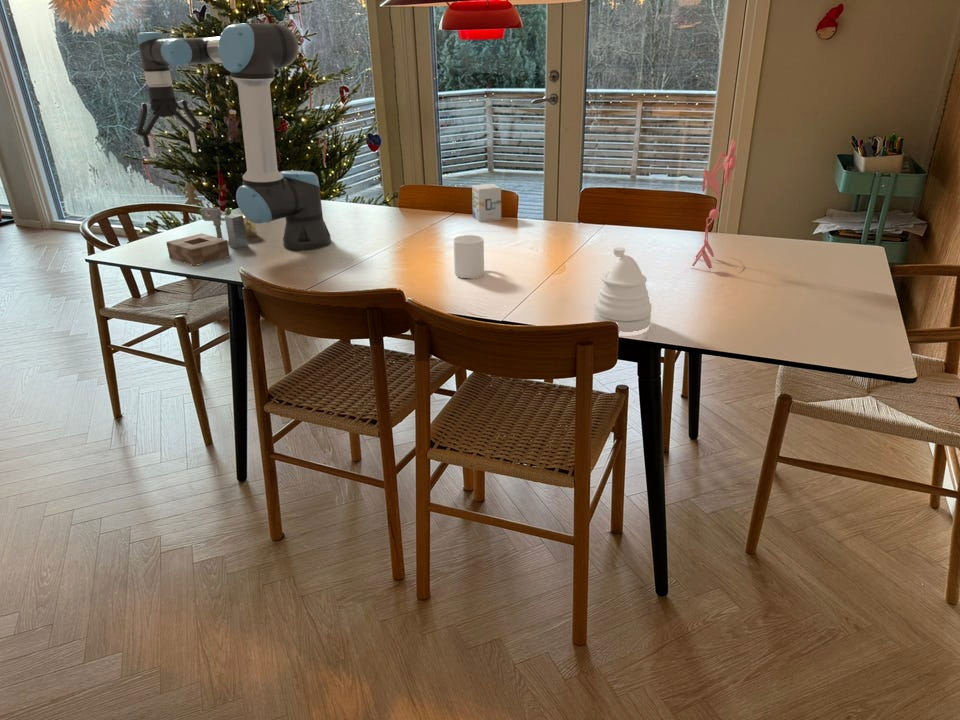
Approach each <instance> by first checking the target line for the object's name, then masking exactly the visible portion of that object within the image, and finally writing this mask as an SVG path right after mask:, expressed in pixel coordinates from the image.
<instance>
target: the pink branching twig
mask: <svg viewBox="0 0 960 720" xmlns="http://www.w3.org/2000/svg"><path fill="white" fill-rule="evenodd" d="M736 149H737V140H735V138H733V139H732V140H731V142H730V145H729V150H728V155H726V154H725V153H724V151H721V152H720V155H719V157H718V159H717V162H716V163H715V166H714V168H713V170H712V172H711V171H709V170H708V169H706V168H704V169H703V179H702V189H701V190H702V192H703V193H704V192H705V190H706V189H707V186H708V187H709V188H710V190H713V192H714V193H716V194H717V195H718V197H717V203H716V207H715V208H712V209H711V210H710V211H709V213H708V215H709V217H707V218H706V221H705V222H706V227H705V230H704V231H705V234H704V240H703V245H702V247H701V248H700V250H699V251H698V253H697V254H696V255H695V257H697V258H696V259H695V260H694V262H693V263H692V265H691V266H694V267H695V265H696V264H697V262H698V261H699V260H700V259H701V257H702V258H703V261H704V262H705V264H706V266H707V267H708V269H709V270H710V268H712V269H713V265H712V261H711V259H710V257H714V258H715V254H714V251H713V248H712V247H711V245H710V243H709V230H708V229H709V226H710V225H711V223H712V222H713V221H714V220H716V219H718V218H719V217H720V211H719V210H718V209H719V205H720V201H721V197H722V192H721V190H720V185H719V184H720V183H719V182H718V179H717V178H716V175H717V174H718V173H719V172H720V170H721V169H722V168H723V170H724V175H723V185H724V186H725V187H726V188H728V186H729V184H730V179H731V174H732V172H733V171H734V170H735V168H736V165H737V160H738V157H737V156H736V155H735V154H736ZM721 159H723V160H724V161H723V163H721V165H720V166H719V163H720V161H721ZM718 166H719V167H718ZM710 219H711V220H710ZM709 220H710V222H709ZM706 250H707V251H706ZM708 253H709V255H710V257H709V255H708Z"/></svg>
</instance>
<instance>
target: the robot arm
mask: <svg viewBox="0 0 960 720" xmlns="http://www.w3.org/2000/svg"><path fill="white" fill-rule="evenodd" d="M136 38H137V46H138V50H139V54H140V60H141V64H142V68H143V72H144V77H145V82H146V85H147V86H148V87H147V92H148V96H149V97H148V98H149V101H150V103H144V102H143V103H140V113H139V117H138V121H137V124H136V128H135V129H136V130H135V134H136V135H138V136H141V137H142V139H143V144H144V147H146V148H148V152H149V157H151V158H156V154H155V149H154V144H153V140H152V139H153V138H152V136H150V133H151V131H152V129H153V128H154V127H155V124H156V123H157V120H158V119H159V118H167V117H173V116H174V117H175V118H176V119H178V121H180V122H181V123H182V124H183V125H184V126H185V127H186V128H187V129H188V137H189V143H190V147H191V152H192V153H194V154H195V153H198V149H197V148H198V147H197V143H196V142H198V134H197V132H198V130H201V129H202V125H201V124H200V123H199V121H198V120H197V118H196V117H195V115H194V114H193V113H192V111H191V110H190V108H189V107H188V103H187V100H183V99H181V100H179V101H177V100H176V96H175V95H176V94H175V89H174V87H173V85H172V84H173V80H172V75H171V71H170V70H171V69H170V66H172V67H173V66H174V67H182V66H189V65H190V66H191V65H207V64H208V65H209V64H210V65H211V64H222V66H223V68H224V69H225V70H227V71H228V72H229V73H230V78H231V79H232V80H233V81H234V82H235V83H236V84H237V91H238V100H239V110H240V118H241V127H242V128H241V129H242V136H243V144H244V145H243V146H244V154H245V163H246V171H245V173H244V174H243V175H242V185H240V186H239V187H238V188H237V190H236V192H235V193H236V194H235V198H236V199H235V200H236V203H237V206H238V209H239V210H240V212H241V214H244V216H245V217H246V218H247V219H248V220H249V221H251V222H253V223H256V225H257V224H258V225H259V224H264V223H270V222H272V221H273V222H274V221H277V220H280V219H284V218H285V226H284V230H283V231H284V232H283V237H282V242H283V243H282V244H283V247H284V248H285V249H287V250H292V251H293V250H295V251H310V250H311V251H312V250H316V249H320V248H325V247H328V246H329V245H331V243H332V239H331V237H332V236H331V233H330V232H329V229H328V226H327V225H326V222H325V219H324V216H323V215H324V214H323V207H322V206H323V205H322V199H321V198H322V197H321V185H320V182H319V177H318V175H317V174H316V173H314V172H312V171H307V170H306V171H303V170H283V171H279V170H278V161H277V150H276V139H275V128H274V127H275V126H274V119H273V118H274V117H273V107H272V96H271V95H272V94H271V86H270V85H271V83H272V82H273V81H274V80H275V70H279V69H283V68H284V69H285V68H287V67H289V66H290V65H292V64H293V63H294V61H296V59H297V57H298V54H299V43H298V40H297V38H296V35H295V34H294V33H293V32H292V31H291V30H290V29H289V28H288V27H287V26H285V25H282V24H281V23H274V22H273V23H243V22H242V23H235V24H230V25H228V26H226V27H224V29H223V31H222V32H221V33H220V36H210V37H189V38H188V37H185V38H184V37H180V38H177V37H176V38H172V37H171V38H164V35H163V33H162V32H161V31H149V32H148V31H147V32H144V31H143V32H138V33H137V35H136ZM178 107H179V108H181V109H182V110H183V112H184V113H185V115H186V117H187V118H188V119H189V120H190V122H189V121H188V119H186V118H185V117H184V116H183V115H182V114H181V113H180V112H179V111H178V110H177V108H178ZM150 109H151V110H152V111H153V112H152V114H151V116H150V119H149V120H148V122H147V123H145V122H146V119H147V115H148V111H150ZM145 125H146V126H145Z"/></svg>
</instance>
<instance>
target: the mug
mask: <svg viewBox="0 0 960 720" xmlns="http://www.w3.org/2000/svg"><path fill="white" fill-rule="evenodd" d="M484 240H485V238H484V237H482V236H479V235H475V234H467V235H459V236H456V237H455V238H453V260H454V262H453V263H454V264H453V265H454V274H455V276H456V277H457V276H458V277H457V278H459V277H460V278H459V279H462V278H468V279H467V280H470V279H469V278H475V279H478V278H477V277H479V278H481V277H483V275H484V273H485V256H484V255H485V249H484V248H485V247H484V244H485V243H484V242H485V241H484ZM480 276H481V277H480Z"/></svg>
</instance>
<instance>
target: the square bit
mask: <svg viewBox="0 0 960 720" xmlns="http://www.w3.org/2000/svg"><path fill="white" fill-rule="evenodd" d="M224 218H225V221H224V222H225V226H226V227H225V228H226V230H227V232H226V233H227V236H228V237H227V238H228V243H229V244H228V245H229V247H230V248H232V247H233V248H232V249H235V248H236V250H239V249H242V247H243V248H246V246H247V247H249V245H248V244H249V243H248V239H247V237H246V231H245V225H244V219H243V215H241V214H238V213H231V214H230V215H228V216H226V215H224Z"/></svg>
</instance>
